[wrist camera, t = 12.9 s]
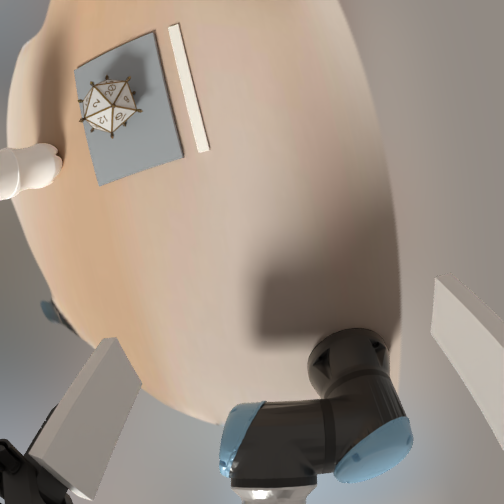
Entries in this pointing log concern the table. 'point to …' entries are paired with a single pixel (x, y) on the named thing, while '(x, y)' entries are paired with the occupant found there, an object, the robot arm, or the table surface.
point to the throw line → (188, 89)
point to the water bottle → (27, 168)
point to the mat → (139, 124)
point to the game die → (109, 105)
